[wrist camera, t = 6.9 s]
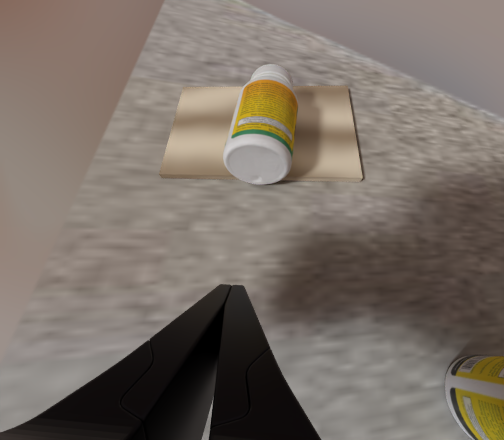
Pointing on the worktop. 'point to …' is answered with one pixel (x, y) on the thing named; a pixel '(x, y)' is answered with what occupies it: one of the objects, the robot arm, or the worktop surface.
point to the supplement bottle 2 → (477, 395)
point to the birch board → (305, 143)
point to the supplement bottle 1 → (263, 128)
